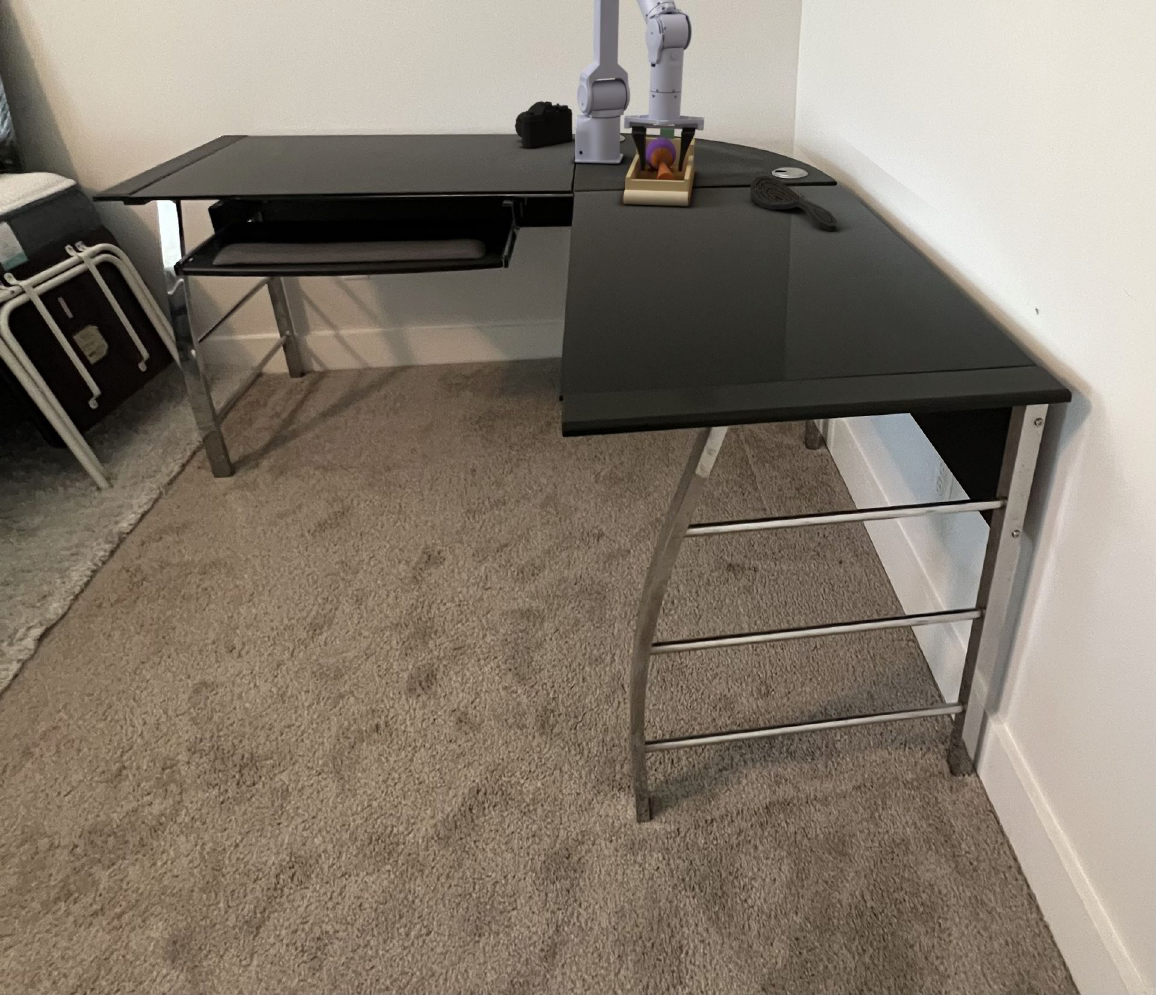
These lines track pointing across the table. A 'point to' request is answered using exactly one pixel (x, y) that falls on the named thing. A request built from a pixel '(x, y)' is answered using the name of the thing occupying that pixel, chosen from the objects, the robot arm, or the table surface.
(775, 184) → the hairbrush
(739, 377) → the table surface
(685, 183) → the wooden tray
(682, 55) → the robot arm
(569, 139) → the film camera
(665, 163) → the kendama
